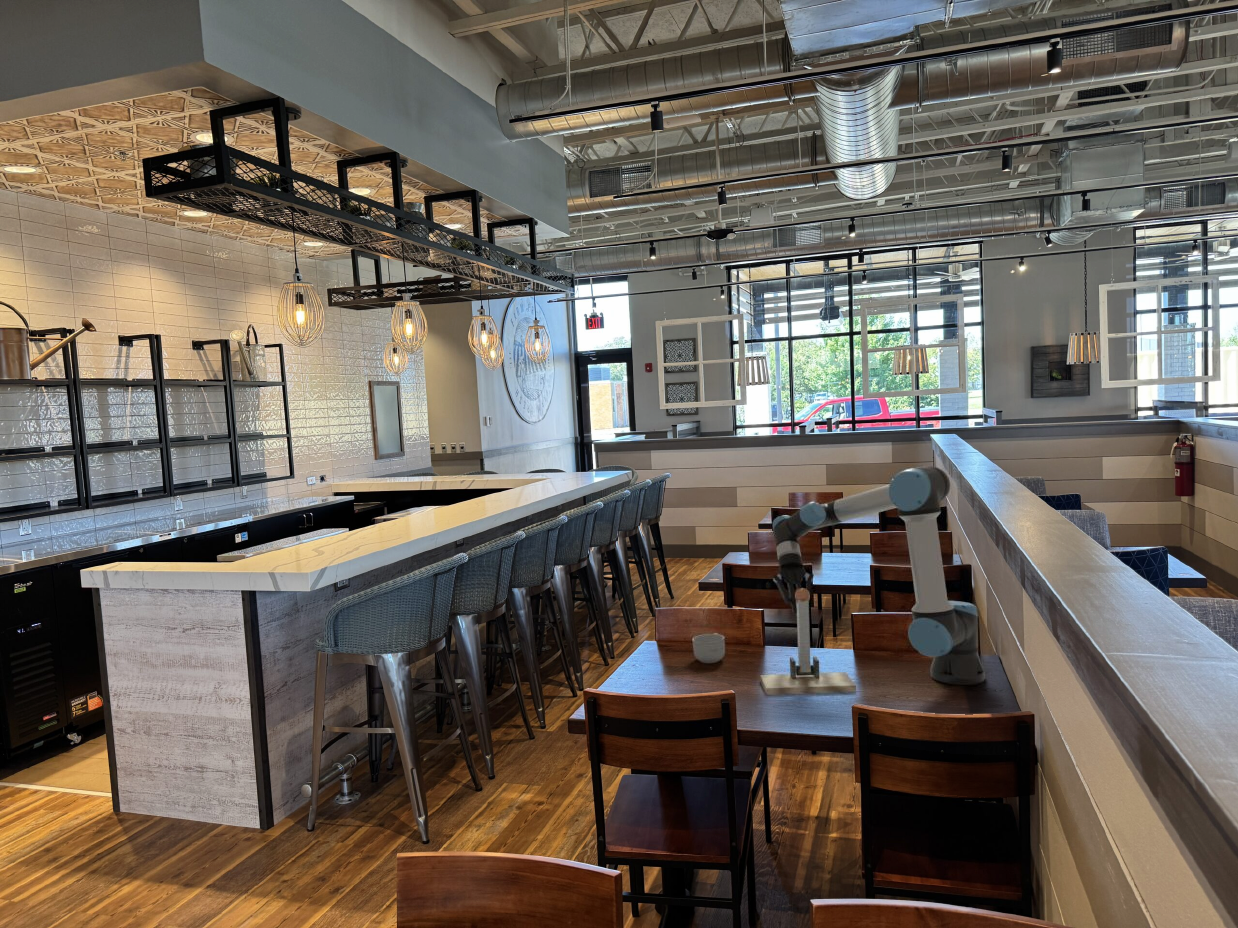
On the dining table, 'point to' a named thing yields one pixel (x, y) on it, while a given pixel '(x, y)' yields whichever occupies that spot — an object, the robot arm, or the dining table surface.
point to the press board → (807, 682)
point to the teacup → (709, 647)
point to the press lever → (803, 633)
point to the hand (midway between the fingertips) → (801, 622)
